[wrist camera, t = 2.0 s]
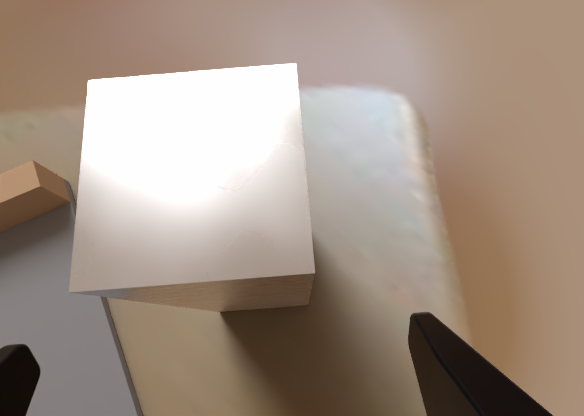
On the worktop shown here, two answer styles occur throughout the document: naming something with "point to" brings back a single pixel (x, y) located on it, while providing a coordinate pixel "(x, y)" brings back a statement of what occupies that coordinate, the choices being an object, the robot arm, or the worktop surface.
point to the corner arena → (56, 302)
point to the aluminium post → (195, 191)
